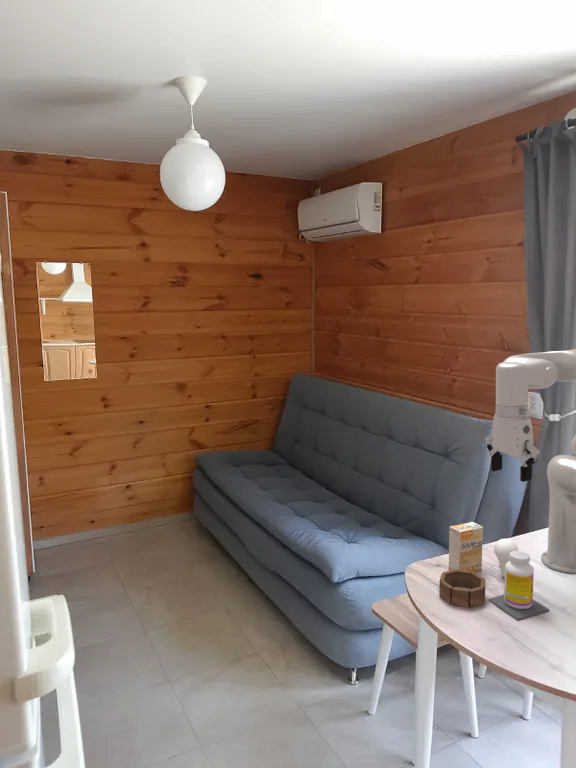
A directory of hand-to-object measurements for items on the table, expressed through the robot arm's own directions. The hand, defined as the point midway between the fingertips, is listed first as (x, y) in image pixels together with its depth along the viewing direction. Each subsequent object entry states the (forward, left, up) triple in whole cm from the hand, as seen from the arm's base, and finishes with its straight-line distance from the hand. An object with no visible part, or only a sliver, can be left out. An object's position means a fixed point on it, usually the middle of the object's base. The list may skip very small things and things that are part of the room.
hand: (510, 475), depth 149 cm
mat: (+5, +9, -31) cm, 32 cm away
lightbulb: (-3, -4, -31) cm, 31 cm away
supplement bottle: (+5, +9, -30) cm, 32 cm away
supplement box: (+4, -12, -31) cm, 33 cm away
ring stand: (+14, -1, -31) cm, 34 cm away
